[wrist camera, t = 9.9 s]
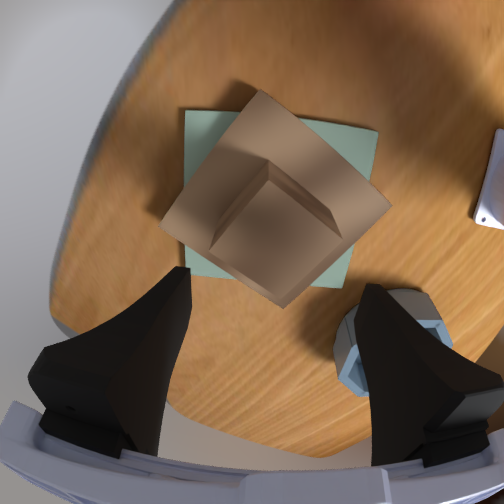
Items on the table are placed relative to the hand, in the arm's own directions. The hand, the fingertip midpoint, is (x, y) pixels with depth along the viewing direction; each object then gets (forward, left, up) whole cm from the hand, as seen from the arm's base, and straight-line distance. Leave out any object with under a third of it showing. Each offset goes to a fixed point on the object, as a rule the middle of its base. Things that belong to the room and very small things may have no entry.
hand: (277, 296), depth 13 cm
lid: (0, 0, -9) cm, 9 cm away
